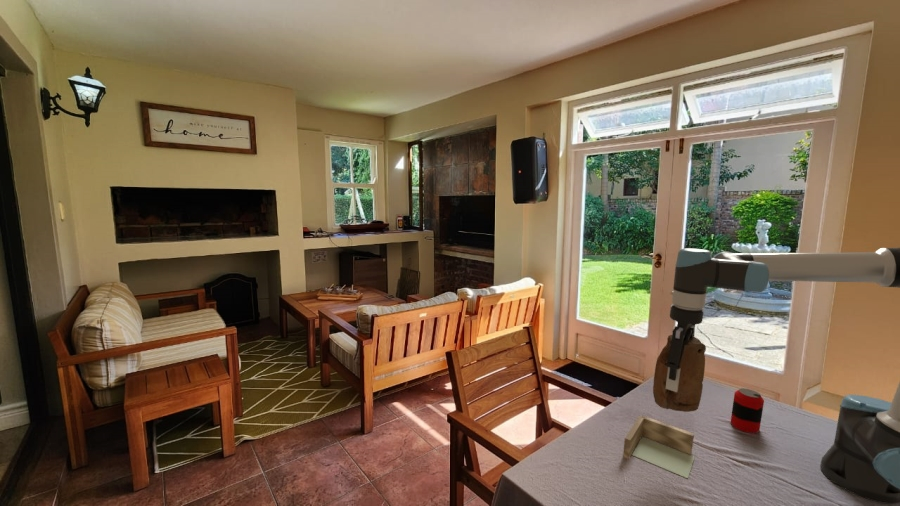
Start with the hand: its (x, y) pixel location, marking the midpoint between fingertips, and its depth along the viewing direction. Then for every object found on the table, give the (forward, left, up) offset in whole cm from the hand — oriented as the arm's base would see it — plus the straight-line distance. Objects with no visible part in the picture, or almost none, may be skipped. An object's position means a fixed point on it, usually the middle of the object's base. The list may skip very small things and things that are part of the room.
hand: (677, 382), depth 106 cm
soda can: (-16, -34, -24) cm, 44 cm away
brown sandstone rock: (0, 0, -7) cm, 7 cm away
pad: (+1, 0, -24) cm, 24 cm away
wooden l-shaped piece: (+3, 0, -24) cm, 24 cm away
